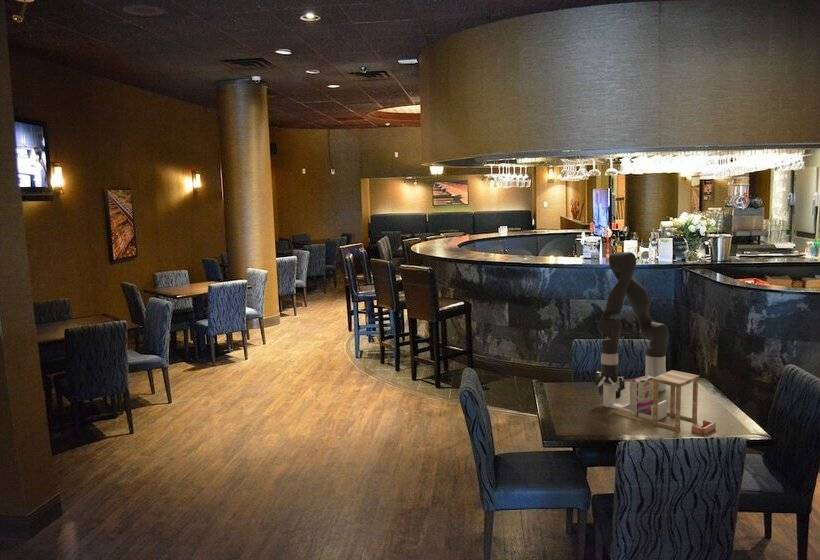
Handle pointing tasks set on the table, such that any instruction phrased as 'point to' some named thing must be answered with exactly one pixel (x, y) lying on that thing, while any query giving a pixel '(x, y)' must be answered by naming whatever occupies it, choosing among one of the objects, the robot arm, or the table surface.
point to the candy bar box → (641, 395)
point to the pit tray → (704, 428)
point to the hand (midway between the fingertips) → (609, 396)
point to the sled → (609, 402)
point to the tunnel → (671, 398)
